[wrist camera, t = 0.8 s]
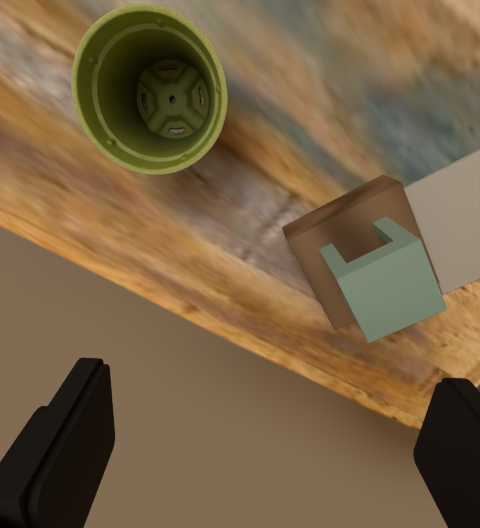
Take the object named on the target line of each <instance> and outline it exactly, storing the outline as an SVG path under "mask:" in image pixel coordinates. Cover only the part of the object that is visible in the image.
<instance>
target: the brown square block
mask: <svg viewBox="0 0 480 528" xmlns="http://www.w3.org/2000/svg"><path fill="white" fill-rule="evenodd" d="M386 216H387V217H388V218H390V219H391V220H393V221H394V222H396V223H397V224H399V225H400V226H401V227H403V228H404V229H406V230H407V231H409V232H410V233H412V234H413V235H415V236H416V237H418V238H419V239H420V240H421V242H422V245H423V248H424V250H425V253H426V255H427V258H428V261H429V263H430V266H431V268H432V271H433V274H434V276H435V279H436V281H437V284H439V283H440V282H439V280H438V277H437V274H436V272H435V269H434V266H433V264H432V261H431V259H430V256H429V253H428V251H427V248H426V245H425V243H424V240H423V238H422V235H421V232H420V230H419V227H418V224H417V222H416V219H415V217H414V214H413V211H412V209H411V206H410V203H409V201H408V198H407V196H406V193H405V190H404V188H403V185H402V182H399V181H397V180H394V179H392V178H390V177H387V176H385V175H381V176H379V177H377V178H375V179H374V180H372V181H370V182H368V183H366V184H364V185H362V186H360V187H358V188H356V189H354V190H353V191H351V192H349V193H347V194H345V195H343V196H341V197H339V198H337V199H335V200H333V201H331V202H330V203H328V204H326V205H324V206H322V207H320V208H318V209H316V210H314V211H312V212H310V213H309V214H307V215H305V216H303V217H301V218H299V219H297V220H295V221H293V222H291V223H289V224H287V225H286V226H284V227H282V229H283V231H284V234H285V237H286V239H287V242H288V244H289V245H290V247H291V249H292V251H293V253H294V255H295V257H296V259H297V260H298V262H299V264H300V266H301V268H302V270H303V272H304V274H305V275H306V277H307V279H308V281H309V283H310V285H311V287H312V289H313V291H314V292H315V294H316V296H317V298H318V300H319V302H320V304H321V306H322V307H323V309H324V311H325V313H326V315H327V317H328V319H329V321H330V322H331V324H332V326H333V328H334V330H337V329H339V328H341V327H344V326H346V325H348V324H350V323H352V322H355V319H354V317H353V315H352V314H351V312H350V310H349V308H348V306H347V305H346V303H345V301H344V299H343V297H342V295H341V294H343V293H342V291H341V289H340V287H339V285H338V283H337V281H336V280H335V278H334V276H333V275H332V273H331V271H330V270H329V268H328V266H327V264H326V263H325V261H324V259H323V257H322V255H321V253H320V251H319V249H321V248H323V247H325V246H327V245H329V244H331V243H332V244H333V245H334V247H335V248H336V249H337V251H338V252H339V254H340V255H341V256H342V258H343V259H344V260H345V262H346V263H349V262H351V261H353V260H355V259H357V258H359V257H361V256H363V255H365V254H367V253H370V252H372V251H374V250H376V249H378V248H380V247H382V246H384V245H386V244H387V243H386V242H385V241H384V240H383V239H381V238H380V237H379V236H378V235H377V233H376V230H375V228H374V226H373V223H374V222H376V221H378V220H380V219H382V218H384V217H386Z"/></svg>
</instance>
